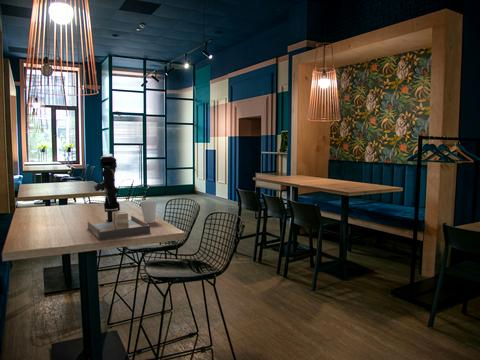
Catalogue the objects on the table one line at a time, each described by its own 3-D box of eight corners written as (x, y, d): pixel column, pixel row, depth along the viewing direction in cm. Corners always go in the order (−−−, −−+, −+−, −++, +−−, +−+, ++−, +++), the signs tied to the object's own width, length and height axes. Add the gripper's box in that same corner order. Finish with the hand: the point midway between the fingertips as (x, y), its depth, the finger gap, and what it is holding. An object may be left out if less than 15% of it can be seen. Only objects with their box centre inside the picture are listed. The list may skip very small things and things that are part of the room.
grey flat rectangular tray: (88, 228, 226) (87, 220, 226) (133, 222, 240) (132, 215, 239) (100, 240, 198) (99, 231, 198) (150, 232, 211) (149, 224, 211)
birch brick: (112, 227, 217) (111, 211, 216) (123, 226, 220) (122, 210, 219) (117, 231, 208) (116, 214, 207) (128, 229, 211) (127, 213, 210)
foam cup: (140, 221, 244) (139, 200, 242) (155, 219, 247) (154, 199, 246) (142, 224, 235) (141, 202, 233) (158, 222, 238) (157, 201, 237)
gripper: (91, 177, 233) (92, 203, 235) (97, 179, 217) (99, 207, 219) (110, 176, 239) (111, 201, 240) (118, 178, 223) (119, 205, 224)
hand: (110, 203), depth 231 cm, fingers closed
